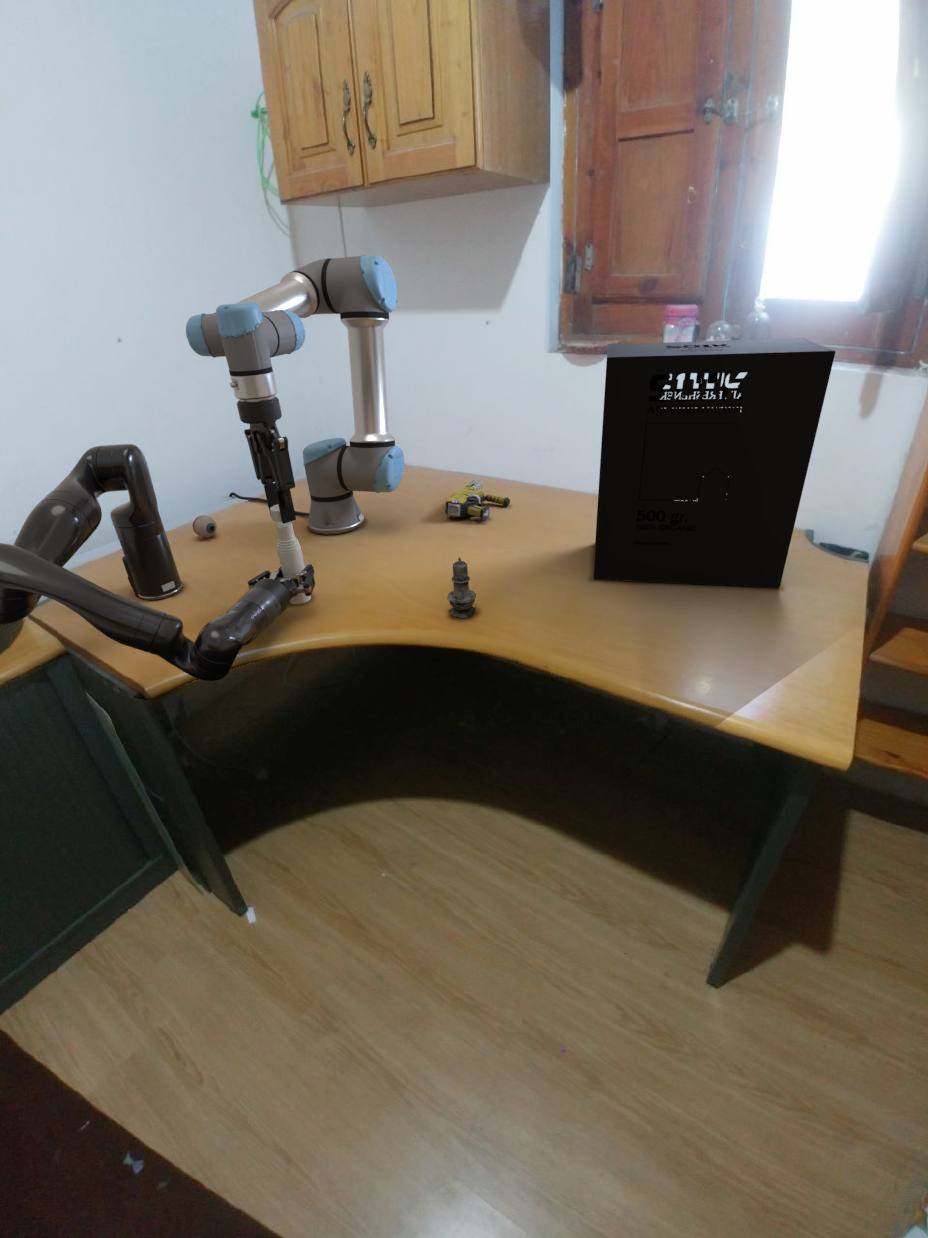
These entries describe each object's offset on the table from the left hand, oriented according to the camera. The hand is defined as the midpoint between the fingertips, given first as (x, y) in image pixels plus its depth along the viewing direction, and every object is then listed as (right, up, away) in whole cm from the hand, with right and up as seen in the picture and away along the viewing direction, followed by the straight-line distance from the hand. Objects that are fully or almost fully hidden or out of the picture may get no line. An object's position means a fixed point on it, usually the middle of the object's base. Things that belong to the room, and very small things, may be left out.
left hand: (299, 567), depth 130 cm
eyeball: (-35, +11, +36) cm, 52 cm away
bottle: (0, -7, +1) cm, 7 cm away
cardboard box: (+84, +1, +6) cm, 85 cm away
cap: (-1, +11, -9) cm, 14 cm away
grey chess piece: (+35, -10, -8) cm, 37 cm away
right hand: (-1, +9, -8) cm, 13 cm away
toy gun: (+41, +21, +45) cm, 65 cm away
